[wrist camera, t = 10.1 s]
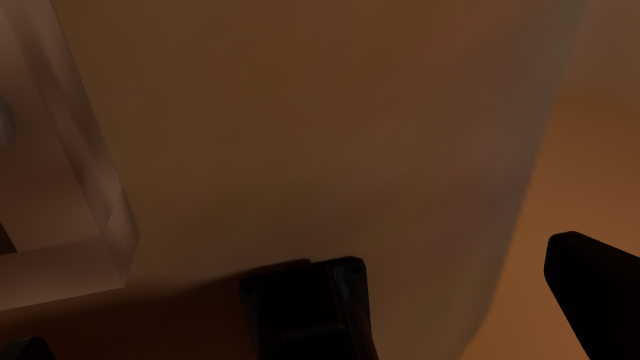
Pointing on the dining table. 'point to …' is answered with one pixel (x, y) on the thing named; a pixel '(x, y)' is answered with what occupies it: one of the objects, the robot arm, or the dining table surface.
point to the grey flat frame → (55, 172)
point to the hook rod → (6, 124)
